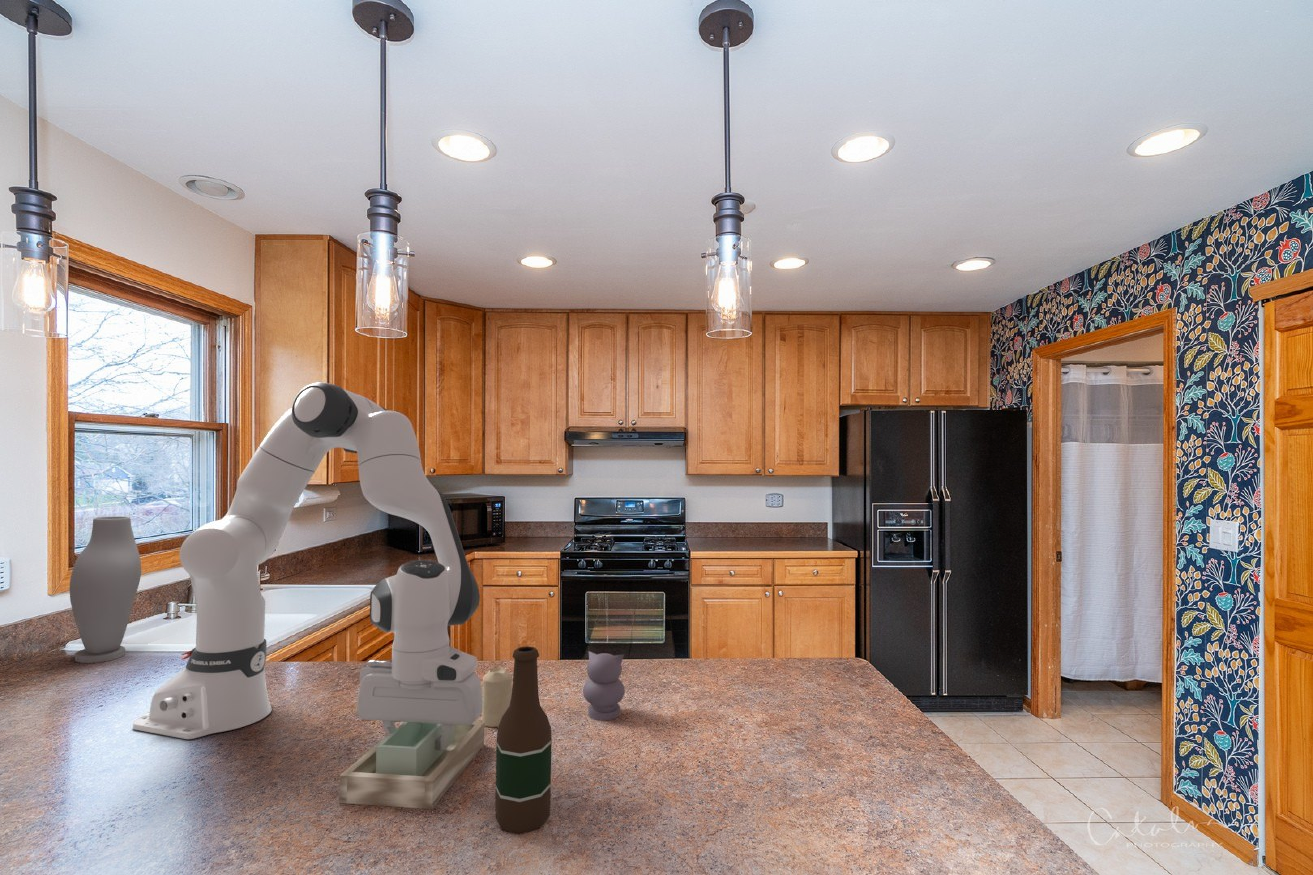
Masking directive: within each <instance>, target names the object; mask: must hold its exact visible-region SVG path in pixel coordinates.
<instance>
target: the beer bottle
mask: <svg viewBox="0 0 1313 875" xmlns="http://www.w3.org/2000/svg"><path fill="white" fill-rule="evenodd" d="M539 657H540V654H539V650H538V649H537V648H536V647H533V646H528V645H527V646H519V647H517V648H516V649H514V650H513V652H512V658H513V660H514V662H513V672H512V696H511V701H510V706H509V707H508V709H507V710H506V712H505V713H504V715H503V716H502V718H501V721H500V724H499V726H498V727H497V730H496V731H497V734H496V745H495V748H496V751H495V789H494V790H495V794H494V795H495V797H494V801H495V802H494V805H495V806H494V808H495V819H496V821H497V824H498V825H499V828H500V830H501V831H503V832H507V833H513V834H516V835H517V834H518V835H520V834H521V835H522V834H525V833H528V832H532V831H536V830H539V829H540V828H541V827H542V826H543V825H544V823H545V822H547V820H548V819H549V817H550V815H551V814H550V813H551V795H552V793H551V792H552V790H551V789H552V787H551V786H552V727H551V723H550V720H549V718H548V716H547V713H546V712H545V711H544V709H543V708H542V706H541V702H540V701H541V700H540V696H539V679H538V658H539Z"/></svg>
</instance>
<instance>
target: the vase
mask: <svg viewBox="0 0 1313 875" xmlns="http://www.w3.org/2000/svg"><path fill="white" fill-rule="evenodd" d="M141 577H142V561H141V556H140V552H139V549H138V545H137V542H136V539H135V536H134V532H133V528H132V521H131V517H130V516H126V515H125V516H122V515H121V516H120V515H118V516H117V515H116V516H115V515H113V516H98V517H94V518H93V519H92V528H91V536H90V539H89V542H88V544H87V545H85V547H84V549H83V550H82V551H81V552H80V554H79V555H78V557H77V558H76V561H75V563H74V565H73V567H72V570H71V573H70V580H69V588H68V589H69V600H70V605H71V609H72V613H73V617H74V621H75V624H76V628H77V630H78V634H79V637H80V640H81V643H82V645H83V647H84V649H80V650H77V651H76V652H75V653H74V661H75V662H77V663H81V664H90V663H91V664H93V663H94V664H95V663H102V662H103V663H104V662H108V661H113V660H117V659H120V658H122V657H124V656H125V653H126V647H125V646H123V645H122V642H123V639H124V637H125V634H126V631H127V628H128V623H129V620H130V617H131V613H132V609H133V605H134V602H135V599H136V595H137V593H138V589H139V587H140V586H139V585H140V581H141Z"/></svg>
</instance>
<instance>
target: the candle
mask: <svg viewBox="0 0 1313 875" xmlns="http://www.w3.org/2000/svg"><path fill="white" fill-rule="evenodd" d="M512 684H513V674H511V672H509V671H508V670H507V669H506V668H505V667H495V668H490V669H489V670H488V671H487V673H485V675H484V676H483V677H482V713H481V718H482V719H481V720H482V721H481V722H484V727H485V726H486V727H489V728H498V726H499V724H500V721H501V718H502V716H503V715H504V713H505V712H506V710H507V709H508V707H509V706H510V701H511V696H512Z"/></svg>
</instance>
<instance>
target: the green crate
mask: <svg viewBox="0 0 1313 875" xmlns="http://www.w3.org/2000/svg"><path fill="white" fill-rule="evenodd" d="M398 726H399V725H398ZM444 732H445V730H442V724H433V723H415V722H404V723H403V724H402V725H401V726H399V727H398V728H397V729H396V730H395V731H394V732H393V733H391V734H390V735H389V736H388V737H387V738H386V739H384V740H383V741H382V742H381V743H380V744H379V745H378V746H376V773H378V774H394V775H410V776H422V775H423V774H424V773H425V772H426V770H427V769H428V768H429V767H430V766H431V765H432V764H433V763H434V762H435V761H436V759H437V758H438V757H439V756H440V755H441V754H442V753H443V752H444V751H445V750H446V749H445V750H444V751H441V750H435V746H436V745H435V740H436V739H437V738H438V737H439V736H440V735H443V734H444ZM454 740H455V727H454V728H453V730H452V732H451V733H450V735H449V736H448V746H449V745H450V744H451V743H452V742H453V741H454Z"/></svg>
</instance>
